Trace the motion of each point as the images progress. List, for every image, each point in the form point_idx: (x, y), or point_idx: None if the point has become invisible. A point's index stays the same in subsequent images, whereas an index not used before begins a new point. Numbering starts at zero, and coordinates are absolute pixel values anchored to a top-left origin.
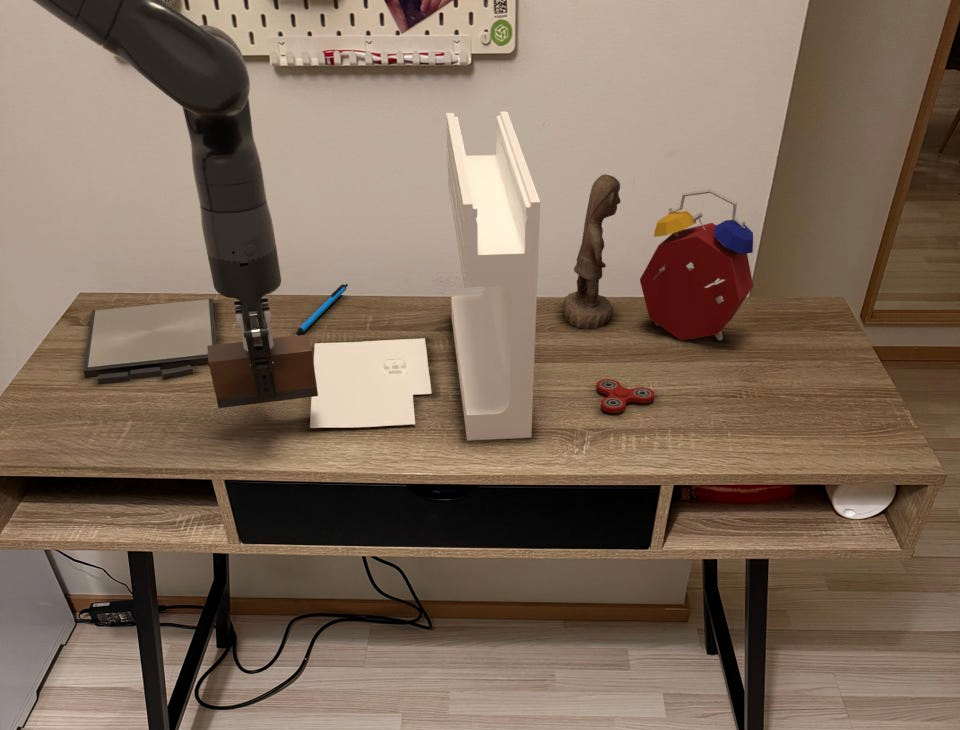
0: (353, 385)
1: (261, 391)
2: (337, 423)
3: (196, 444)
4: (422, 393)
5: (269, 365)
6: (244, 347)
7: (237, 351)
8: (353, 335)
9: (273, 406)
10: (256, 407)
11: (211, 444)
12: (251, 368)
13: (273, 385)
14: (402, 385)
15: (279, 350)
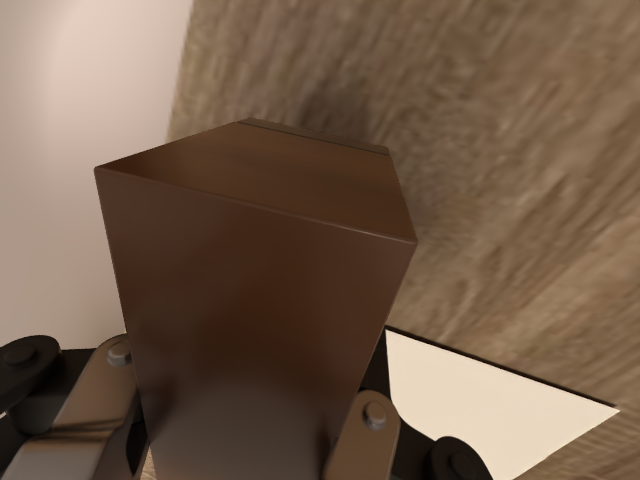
0: (392, 393)
1: None
2: None
3: (317, 9)
4: None
5: (2, 419)
6: (21, 453)
7: (225, 367)
8: (589, 456)
9: (411, 260)
10: (430, 226)
11: (299, 60)
12: (11, 355)
13: None
14: None
15: (185, 474)
